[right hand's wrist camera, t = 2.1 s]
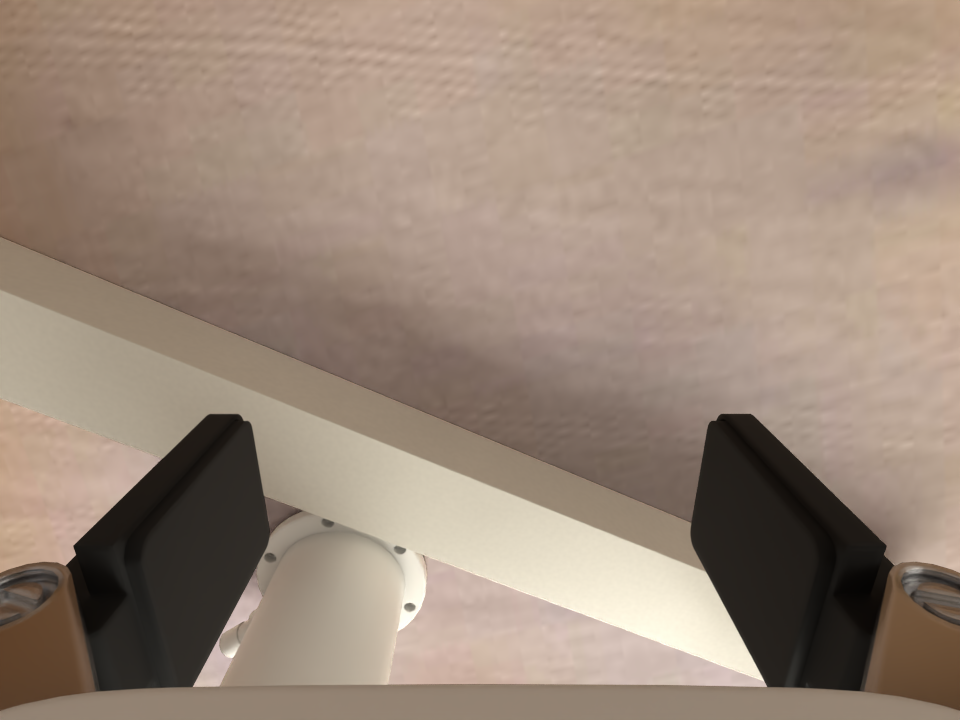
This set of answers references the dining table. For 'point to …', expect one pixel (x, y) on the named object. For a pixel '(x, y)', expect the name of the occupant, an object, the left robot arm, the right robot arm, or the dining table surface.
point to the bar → (354, 455)
